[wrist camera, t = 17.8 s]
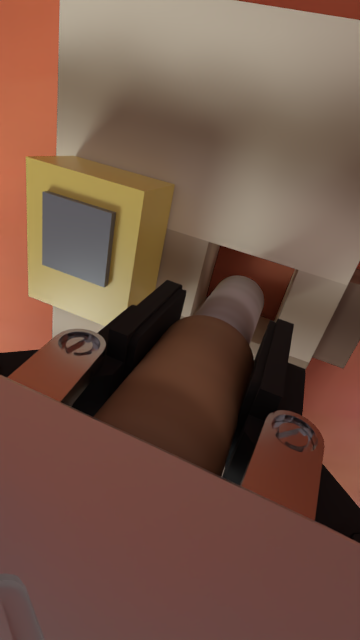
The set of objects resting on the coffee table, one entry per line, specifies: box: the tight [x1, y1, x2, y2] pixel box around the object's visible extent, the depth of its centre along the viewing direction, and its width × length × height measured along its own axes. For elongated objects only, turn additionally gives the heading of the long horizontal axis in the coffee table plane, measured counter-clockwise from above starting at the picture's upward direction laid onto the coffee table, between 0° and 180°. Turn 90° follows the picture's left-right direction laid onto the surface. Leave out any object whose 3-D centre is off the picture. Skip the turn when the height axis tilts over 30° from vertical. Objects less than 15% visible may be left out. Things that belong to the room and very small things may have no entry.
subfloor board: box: [52, 0, 360, 475], centre depth 19 cm, size 25×17×3 cm
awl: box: [94, 275, 264, 477], centre depth 10 cm, size 3×3×12 cm
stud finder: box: [26, 156, 175, 326], centre depth 15 cm, size 6×5×3 cm
